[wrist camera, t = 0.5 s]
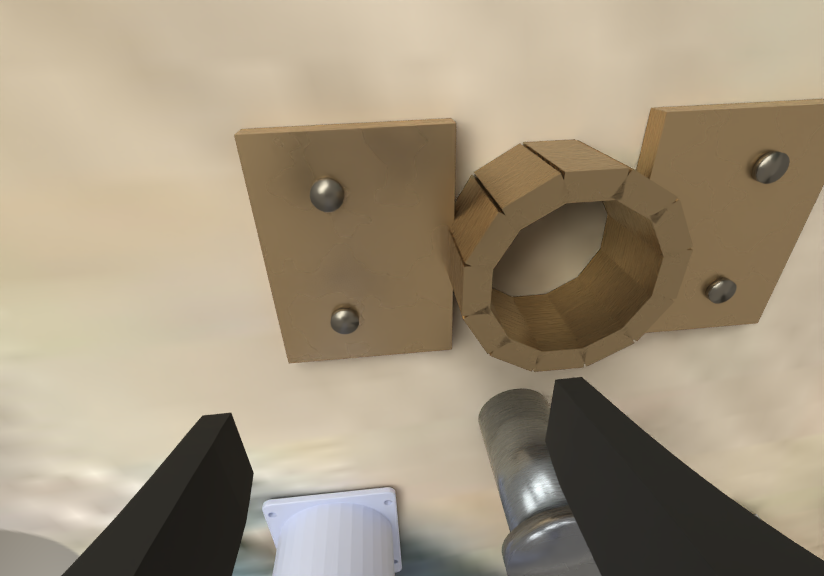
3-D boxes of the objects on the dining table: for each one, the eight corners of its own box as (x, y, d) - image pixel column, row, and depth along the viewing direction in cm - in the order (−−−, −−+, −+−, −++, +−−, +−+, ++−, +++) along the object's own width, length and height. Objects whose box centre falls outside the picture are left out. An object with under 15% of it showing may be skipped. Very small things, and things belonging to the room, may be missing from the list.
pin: (552, 441, 26) (617, 585, 19) (466, 449, 25) (502, 599, 19) (565, 376, 23) (646, 517, 16) (469, 385, 23) (513, 532, 16)
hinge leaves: (742, 311, 22) (812, 364, 18) (292, 349, 20) (277, 413, 17) (837, 98, 17) (960, 115, 13) (241, 129, 15) (205, 157, 12)
